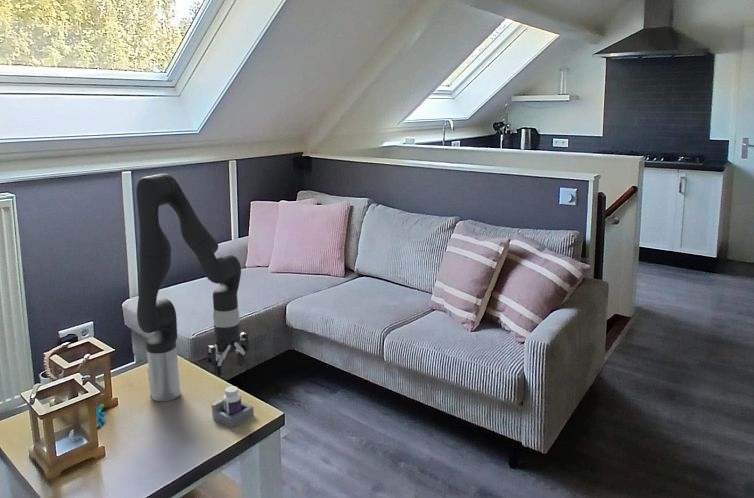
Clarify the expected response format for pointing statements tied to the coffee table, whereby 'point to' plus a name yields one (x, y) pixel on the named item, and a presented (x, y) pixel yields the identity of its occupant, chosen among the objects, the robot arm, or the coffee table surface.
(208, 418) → the coffee table surface
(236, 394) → the pill bottle
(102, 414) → the blue lumpy piece
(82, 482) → the coffee table surface
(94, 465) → the coffee table surface
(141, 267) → the robot arm
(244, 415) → the dock
